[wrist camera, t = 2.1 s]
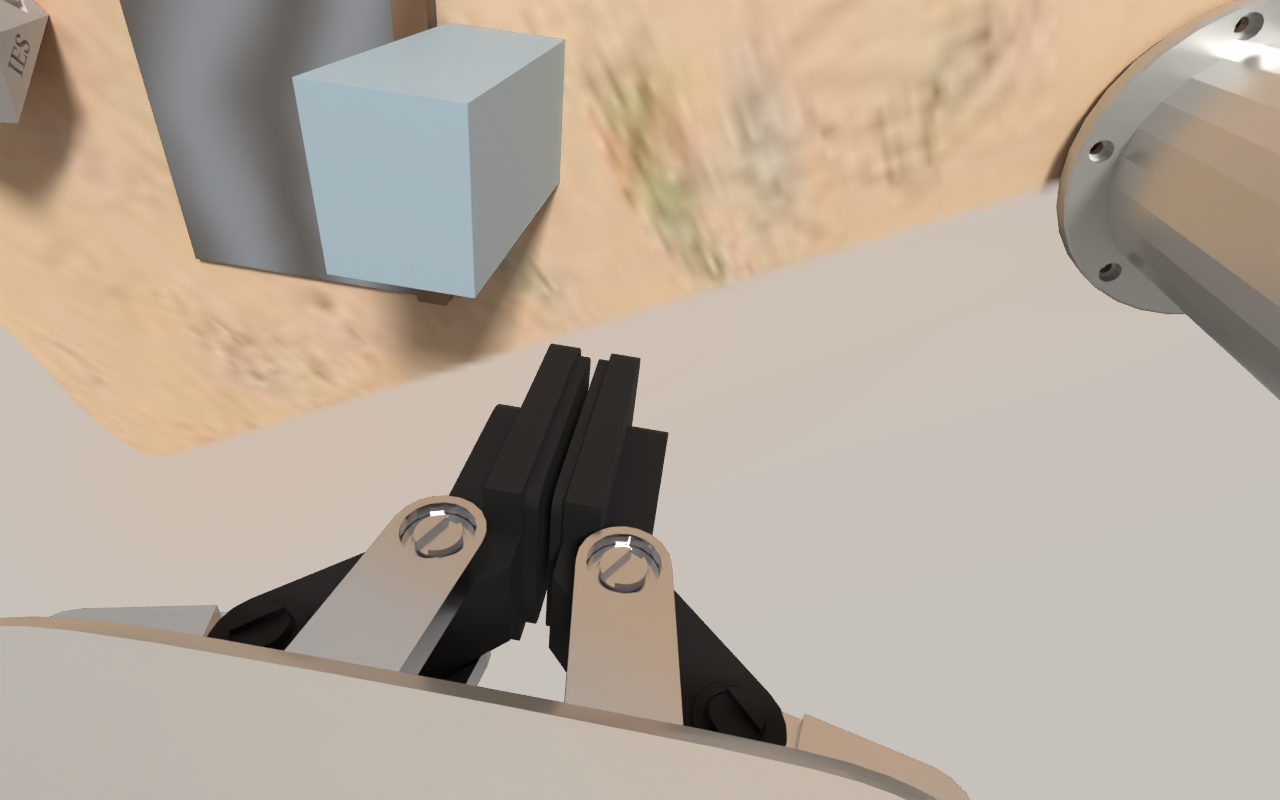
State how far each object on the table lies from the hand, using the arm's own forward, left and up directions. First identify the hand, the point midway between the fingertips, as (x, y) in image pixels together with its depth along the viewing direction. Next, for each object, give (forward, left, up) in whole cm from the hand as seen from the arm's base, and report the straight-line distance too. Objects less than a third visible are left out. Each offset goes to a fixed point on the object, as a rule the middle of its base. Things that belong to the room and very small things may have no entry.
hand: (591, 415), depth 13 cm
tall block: (+8, 0, -21) cm, 22 cm away
